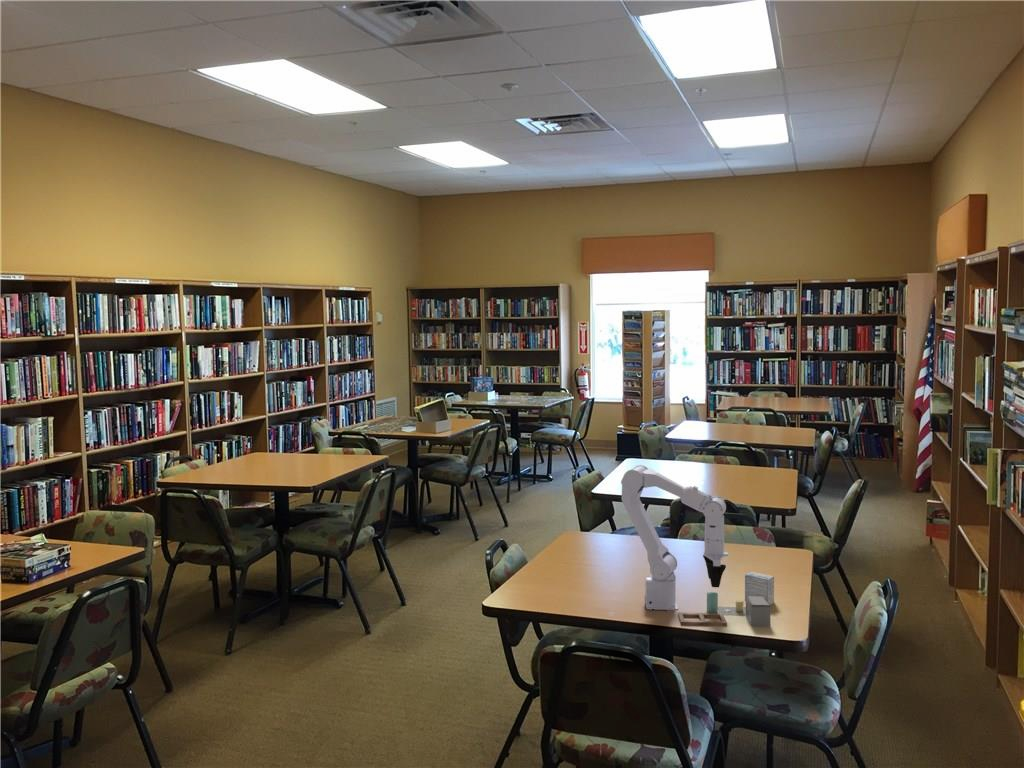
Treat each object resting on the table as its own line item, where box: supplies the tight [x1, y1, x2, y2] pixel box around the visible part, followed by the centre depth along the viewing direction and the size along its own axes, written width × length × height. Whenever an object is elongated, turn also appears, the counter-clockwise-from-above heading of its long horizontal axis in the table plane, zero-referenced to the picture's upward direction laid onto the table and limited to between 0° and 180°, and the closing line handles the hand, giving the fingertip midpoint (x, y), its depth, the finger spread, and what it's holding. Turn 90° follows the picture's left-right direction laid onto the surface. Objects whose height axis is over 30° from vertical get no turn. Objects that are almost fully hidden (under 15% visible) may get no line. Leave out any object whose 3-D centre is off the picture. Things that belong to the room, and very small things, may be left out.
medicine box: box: [744, 571, 775, 605], centre depth 250 cm, size 8×4×9 cm, turn 48°
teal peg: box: [706, 591, 719, 613], centre depth 241 cm, size 3×3×6 cm
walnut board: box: [677, 611, 728, 627], centre depth 234 cm, size 13×8×1 cm, turn 84°
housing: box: [745, 596, 772, 628], centre depth 233 cm, size 8×5×6 cm
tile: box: [718, 599, 746, 617], centre depth 242 cm, size 9×7×3 cm
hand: (713, 582), depth 241 cm, fingers open, 7 cm apart
